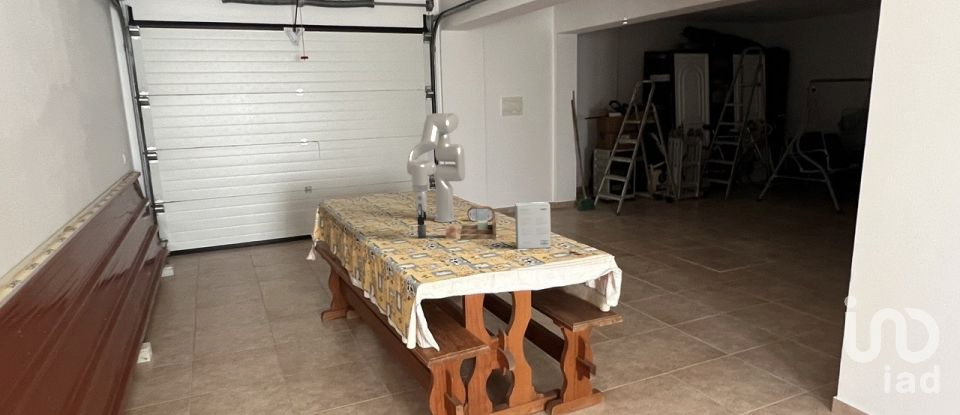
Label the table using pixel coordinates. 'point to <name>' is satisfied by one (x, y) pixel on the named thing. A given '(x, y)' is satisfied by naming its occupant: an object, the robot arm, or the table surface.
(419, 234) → the pull block
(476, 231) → the lane rack
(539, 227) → the hard drive box
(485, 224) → the sage block
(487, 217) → the tin
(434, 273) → the table surface
